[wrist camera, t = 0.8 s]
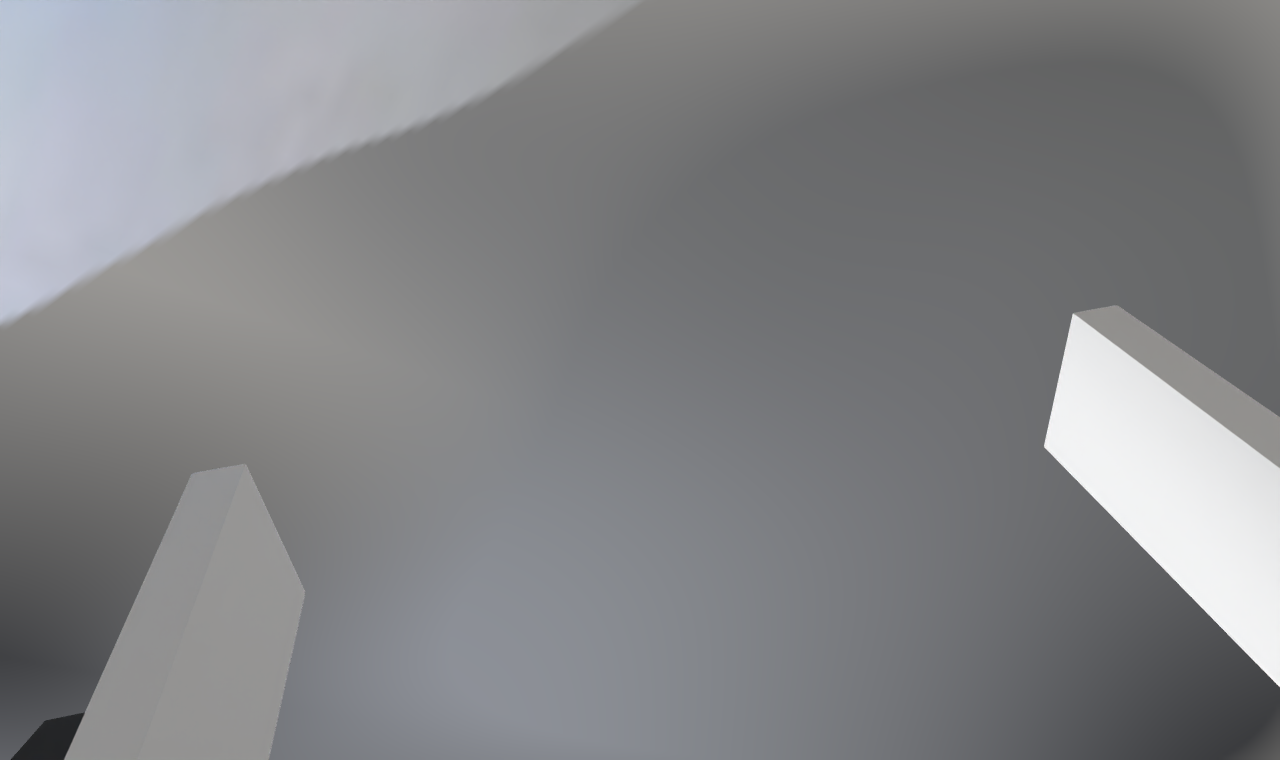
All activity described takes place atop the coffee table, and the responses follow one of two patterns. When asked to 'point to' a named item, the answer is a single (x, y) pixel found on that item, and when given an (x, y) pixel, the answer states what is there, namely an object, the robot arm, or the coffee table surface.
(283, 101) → the coffee table surface
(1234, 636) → the robot arm
